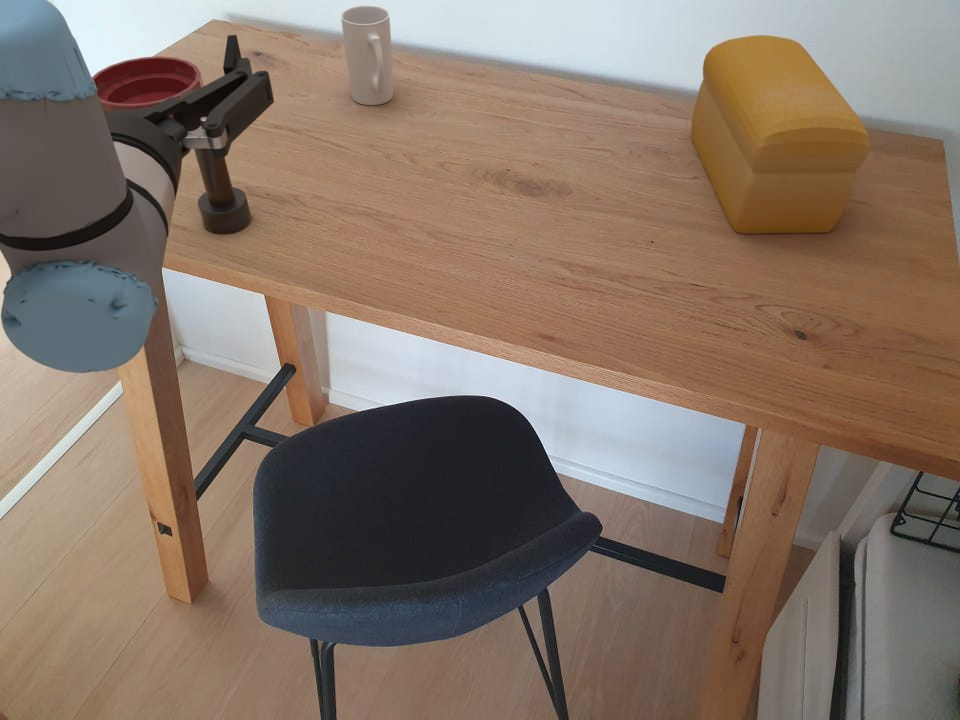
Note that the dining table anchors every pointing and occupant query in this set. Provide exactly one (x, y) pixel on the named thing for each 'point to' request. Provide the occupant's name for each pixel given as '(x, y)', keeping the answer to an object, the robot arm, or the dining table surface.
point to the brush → (219, 194)
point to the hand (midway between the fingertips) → (156, 54)
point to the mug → (368, 54)
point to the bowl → (145, 82)
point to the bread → (775, 137)
